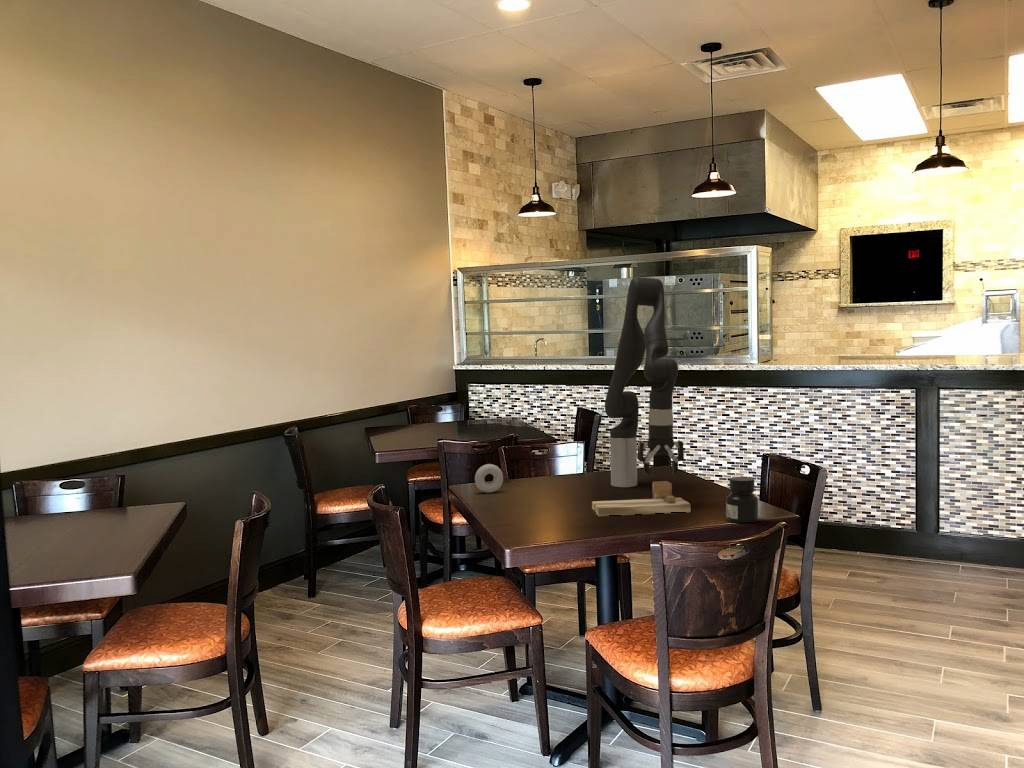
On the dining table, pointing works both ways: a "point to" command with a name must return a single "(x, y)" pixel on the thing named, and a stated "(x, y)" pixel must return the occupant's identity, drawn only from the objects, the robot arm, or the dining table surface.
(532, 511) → the dining table surface
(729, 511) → the ink bottle
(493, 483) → the donut
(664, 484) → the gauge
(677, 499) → the board
